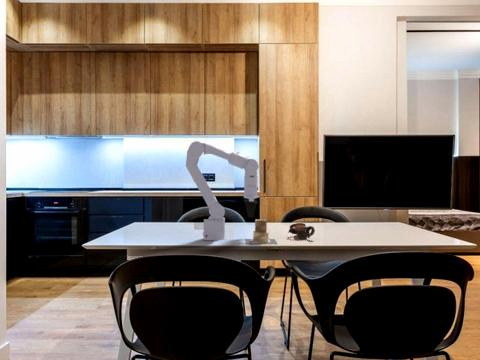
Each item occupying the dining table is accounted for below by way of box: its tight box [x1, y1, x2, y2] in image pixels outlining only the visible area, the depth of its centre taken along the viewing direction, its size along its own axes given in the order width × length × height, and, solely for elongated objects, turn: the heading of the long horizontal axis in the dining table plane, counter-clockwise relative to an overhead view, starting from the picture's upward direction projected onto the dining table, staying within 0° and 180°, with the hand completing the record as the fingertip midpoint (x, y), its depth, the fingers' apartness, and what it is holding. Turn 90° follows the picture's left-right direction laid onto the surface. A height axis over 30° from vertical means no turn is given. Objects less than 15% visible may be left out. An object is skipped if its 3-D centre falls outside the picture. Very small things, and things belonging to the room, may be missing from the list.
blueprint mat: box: [244, 238, 278, 245], centre depth 175 cm, size 13×13×1 cm
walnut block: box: [254, 218, 268, 232], centre depth 176 cm, size 4×4×5 cm
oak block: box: [252, 230, 269, 242], centre depth 176 cm, size 6×6×4 cm
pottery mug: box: [287, 222, 316, 241], centre depth 185 cm, size 12×10×8 cm
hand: (250, 216), depth 185 cm, fingers open, 7 cm apart
